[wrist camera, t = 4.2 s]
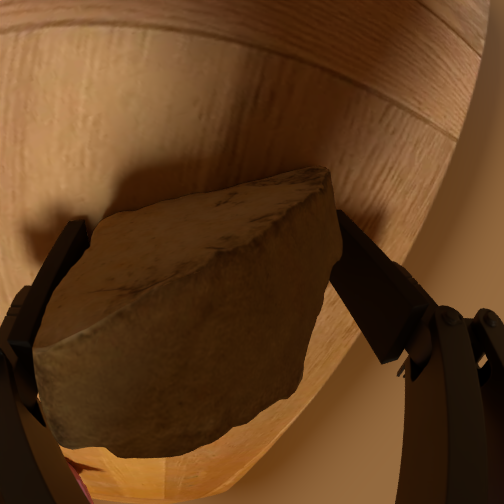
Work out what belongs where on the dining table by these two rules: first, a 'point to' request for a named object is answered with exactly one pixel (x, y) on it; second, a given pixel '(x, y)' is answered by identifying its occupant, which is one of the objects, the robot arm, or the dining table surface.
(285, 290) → the rock
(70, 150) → the dining table surface
